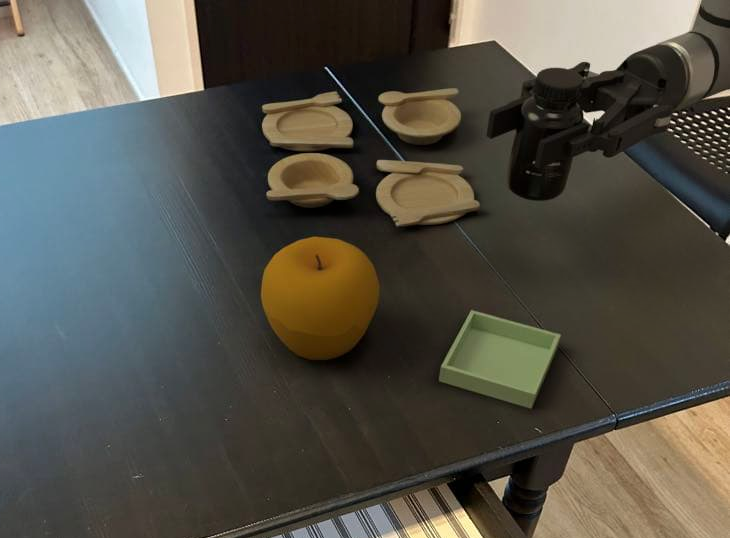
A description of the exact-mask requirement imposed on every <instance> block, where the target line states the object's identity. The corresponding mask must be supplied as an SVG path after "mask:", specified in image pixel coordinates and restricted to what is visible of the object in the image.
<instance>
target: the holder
mask: <svg viewBox="0 0 730 538" xmlns="http://www.w3.org/2000/svg"><path fill="white" fill-rule="evenodd" d="M561 336H562V335H561V333H556V332H553V331H549V330H545V329H542V328H540V327H539V328H538V327H535V326H531V325H527V324H524V323H520V322H516V321H513V320H509V319H506V318H501V317H499V316H495V315H492V314H491V315H490V314H488V313H484V312H480V311H477V310H473V309H471V310H470V312H469V314H468V315H467V317H466V319H465V321H464V322H463V325H462V327H461V328H460V330H459V331H458V334H457V336H456V338H455V339H454V341H453V343H452V345H451V347H450V349H449V351H448V352H447V354H446V356H445V358H444V360H443V362H442V364H441V366H440V369H439V376H438V382H441V383H444V384H448V385H451V386H454V387H457V388H461V389H464V390H468V391H471V392H473V393H477V394H481V395H484V396H486V397H487V396H488V397H490V398H494V399H496V400H501V401H505V402H507V403H511V404H514V405H518V406H520V407H524V408H527V409H530V410H532V409H533V406H534V404H535V402H536V399H537V397H538V395H539V392H540V390H541V388H542V385H543V383H544V381H545V379H546V376H547V373H548V372H549V369H550V366H551V364H552V361H553V359H554V357H555V355H556V352H557V349H558V346H559V343H560V340H561Z"/></svg>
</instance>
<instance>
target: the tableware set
mask: <svg viewBox="0 0 730 538" xmlns="http://www.w3.org/2000/svg"><path fill="white" fill-rule="evenodd" d="M457 97H459V89H458V88H456V87H452V88H451V87H450V88H442V89H435V90H427V91H420V92H409V93H406V92H405V93H404V92H401V91H394V90H393V91H391V90H390V91H386V92H383V93H381V94H380V95H379V96H378V98H377V99H378V102H379V103H381V104H382V105H384V108H383V110H382V112H381V118H382V121H383V123H384V125H385V126H386V127H387V128H388V129H390V130H391V131H392V132H394V133H396V135H397V137H398V138H399V139H400V140H401V141H403V142H405V143H407V144H412V145H416V146H417V145H419V146H426V145H427V146H428V145H432V144H435V143H437V142H439V141H440V140H441V139H442V138H443V137H444V136H445V135H448V134H450V133H452V132H454V130H456V129H457V127H459V125H460V124H461V121H462V114H461V110H460V109H459V108H458V106H456V105H455V104H454V103H452V102H451V101H449V100H447V99H455V98H457ZM342 102H343V99H342V98H341V96H340V95H339V94H338V92H337V91H329V92H324V93H319V94H317V95H315V96H314V97H311V98H307V99H300V100H292V101H282V102H273V103H265V104H263V105H262V106H261V108H262V112H263V113H264V114H265V116H264V118H263V120H262V123H261V130H262V133H263V136H264V137H265V138H266V139H267V141H268V142H269V145H270V146H272V147H276V148H277V147H278V148H281V149H284V150H288V151H292V152H304V153H298V154H293V155H289V156H287V157H284V158H282V159H280V160H279V161H277V162H276V163H275V164H273V166H271V168H270V169H269V171H268V174H267V182H268V186H269V188H270V190H268V191H267V192H266V199H267V200H269V201H273V202H274V201H275V202H276V201H288V202H290V203H292V205H295V206H298V207H301V208H308V209H313V208H320V207H324V206H327V205H329V204H330V203H332V202H333V201H334V200H338V201H341V200H342V201H344V200H350V199H353V198H355V197H356V196H358V194H359V193H360V191H359V190H360V188H359V186H357V185H356V184H354V173H353V170H352V168H351V167H350V165H348V164H347V163H346V162H345V161H343V160H341V159H339V158H338V157H336V156H332V155H329V154H326V153H317V152H318V151H325V150H329V149H333V148H334V149H353V148H354V140H353V138H352V137H350V136H351V134H352V132H353V127H354V126H353V124H354V123H353V120H352V118H351V116H350V114H348V112H346V111H345V110H343V109H341V108H339V107H337V106H335V105H337V104H340V103H342ZM306 152H307V153H306ZM376 169H377V170H378V171H381V172H388V173H390V174H388V175H386V176H385V177H384V178H383V179H382V180H381V181H380V182H379V183H378V184H377V187H376V190H375V198H376V202H377V204H378V206H379V207H380V208H381V210H382V211H383V212H384V213H386V214H387V215H389V216H390V218H392V221H393V222H394V224H395V226H396V227H397V228H400V227H401V228H402V227H410V226H415V225H419V226H433V225H434V226H435V225H442V224H446V223H449V222H453V221H455V220H457V219H459V218H461V217H463V216H465V215H466V214H467V213H471V212H476V211H479V210H480V207H481V206H480V205H481V203H480V202H479V201H478V200H476V199H475V192H474V190H473V187H472V186H471V185H470V184H469V182H468V181H467V180H466V179H464V178H463V177H462V176H460V175H461V174H463V172H464V167H463V166H462V165H459V164H449V163H434V162H421V161H407V160H406V161H405V160H390V159H389V160H388V159H377V161H376Z"/></svg>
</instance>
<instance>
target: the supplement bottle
mask: <svg viewBox="0 0 730 538" xmlns="http://www.w3.org/2000/svg"><path fill="white" fill-rule="evenodd" d="M569 69H570V68H565V67H547V68H543V69H541V70H540V71H538V73H537V74H536V78H535V79H536V81H535V86H534V87H533V92H532V94H533V96H531V97H530V98H528V99H527V100H526V101H525V102H524V103H523V105H522V106H521V108H520V112H519V116H518V121H517V126H516V129H515V132H514V137H513V142H512V146H511V152H510V158H509V161H508V165H507V171H506V177H505V182H506V185H507V188H508V189H509V190H510V191H511V192H512V193H513V194H514V195H516V196H517V197H519V198H522V199H525V200H528V201H533V202H545V201H550V200H554V199H556V198H558V197H559V196H561V194H562V193H563V192H564V191H565V189H566V187H567V182H568V180H569V175H570V173H571V169H572V165H573V160H574V157H569V156H568V157H566V158H564V159H561V160H559V161H557V162H554V163H552V164H550V165H547V166H545V167H543V168H540V169H539V168H537V167H535V166H534V164H535V160H536V155H537V150H538V145H539V141H540V140H542V139H545V138H547V137H549V136H552V135H554V134H557V133H559V132H562V131H564V130H566V129H569V128H571V127H574V126H576V125H579V124H581V123H583V122H584V117H585V116H584V111H583V110H582V108H581V106H580V104H579V103H578V101H579V98H580V94H581V93H580V92H581V88H582V84H583V78H582V77H581V76H580V75H579V74H578V73H577V72H574V71H572V70H569Z"/></svg>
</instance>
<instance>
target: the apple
mask: <svg viewBox="0 0 730 538" xmlns="http://www.w3.org/2000/svg"><path fill="white" fill-rule="evenodd" d="M261 279H262V280H261V289H260V298H261V304H262V308H263V310H264V313H265V316H266V318H267V320H268V323H269V325H270V327H271V329H272V331H273V332H274V333H275V334H276V336H277V337H278V338H279V340H280V341H281V343H283V344H284V345H285V346H286V347H287V349H288V350H290V351H291V352H293V353H294V355H296V356H298V357H300V358H304V359H307V360H309V361H328V360H332V359H335V358H339V357H341V356H343V355H345V354H347V353H348V352H350V351H351V350H353V348H354V347H355V346H356V345H358V343H359V341H360V340H361V339H362V338H363V337H364V335H365V334H366V331H367V329H368V328H369V325H370V323H371V321H372V319H373V316H374V315H375V312H376V310H377V307H378V305H379V296H380V287H381V286H380V282H379V279H378V275H377V272H376V269H375V266H374V264H373V263H372V261H371V260H370V258H369V257H368V256H367V255H366V254H365V253H364V252H363V251H362V250H361V249H360V248H358V247H357V246H356V245H353V244H351V243H348V242H346V241H344V240H342V239H340V238H333V237H322V236H311V237H306V238H303V239H298V240H296V241H295V242H293V243H290V244H289V245H287V246H284V247H283V248H282V249H280V250H279V251H277V252H276V253H275V254H273V256H272V258H271V259H270V260H269V262H268V264H267V265H266V267H265V268H264V271H263V275H262V278H261Z"/></svg>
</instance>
